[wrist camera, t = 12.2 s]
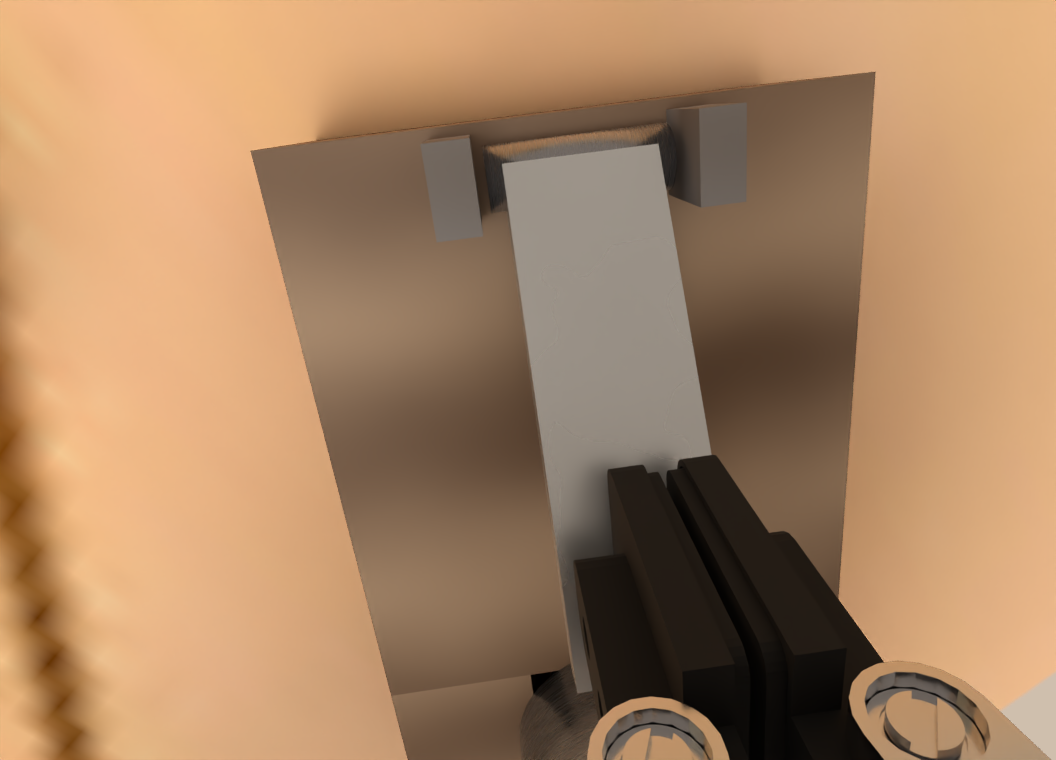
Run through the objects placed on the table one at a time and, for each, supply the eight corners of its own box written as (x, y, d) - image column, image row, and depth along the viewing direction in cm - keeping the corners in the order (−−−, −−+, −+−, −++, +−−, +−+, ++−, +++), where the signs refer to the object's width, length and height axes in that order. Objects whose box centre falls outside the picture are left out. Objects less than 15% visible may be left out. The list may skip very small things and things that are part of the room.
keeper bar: (741, 644, 12) (766, 664, 11) (554, 672, 12) (559, 695, 11) (655, 141, 13) (669, 109, 12) (483, 163, 13) (480, 133, 12)
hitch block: (753, 694, 26) (855, 903, 19) (448, 741, 26) (440, 972, 19) (760, 84, 18) (942, 64, 11) (314, 140, 18) (212, 156, 11)
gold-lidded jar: (666, 526, 22) (846, 906, 12) (672, 655, 24) (829, 1078, 14) (499, 550, 22) (526, 959, 11) (520, 678, 24) (559, 1125, 14)
